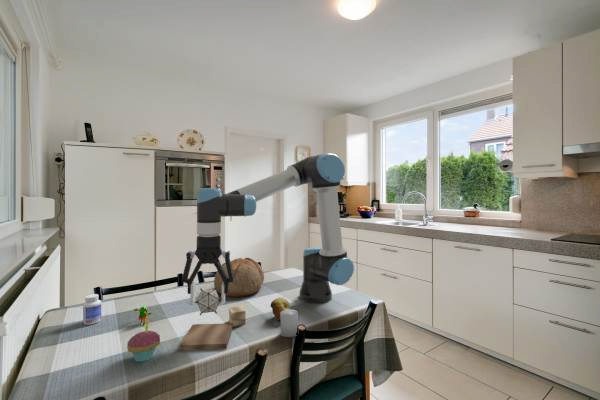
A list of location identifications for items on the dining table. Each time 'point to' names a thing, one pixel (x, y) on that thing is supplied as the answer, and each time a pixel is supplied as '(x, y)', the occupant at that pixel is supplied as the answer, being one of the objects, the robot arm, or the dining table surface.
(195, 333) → the board
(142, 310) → the toy character
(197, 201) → the robot arm
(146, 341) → the cupcake
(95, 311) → the pill bottle
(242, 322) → the beech block
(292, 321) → the white rounded cylinder
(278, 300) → the fruit
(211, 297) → the game die
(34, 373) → the dining table surface
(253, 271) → the bread
